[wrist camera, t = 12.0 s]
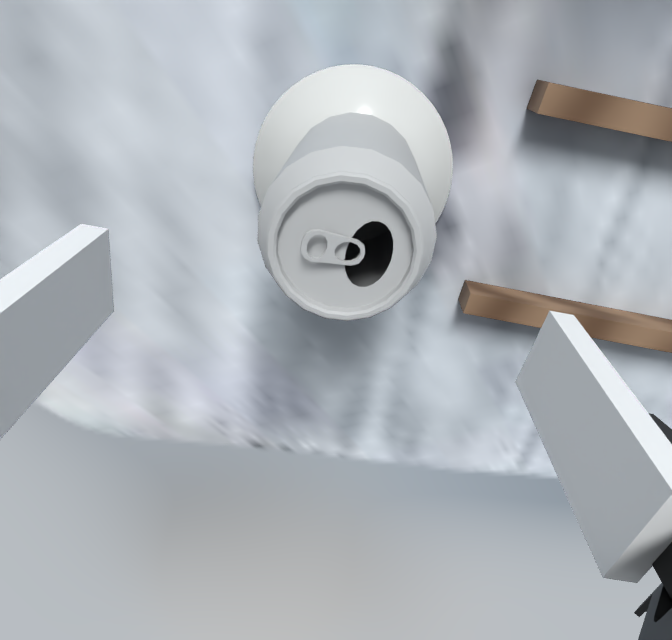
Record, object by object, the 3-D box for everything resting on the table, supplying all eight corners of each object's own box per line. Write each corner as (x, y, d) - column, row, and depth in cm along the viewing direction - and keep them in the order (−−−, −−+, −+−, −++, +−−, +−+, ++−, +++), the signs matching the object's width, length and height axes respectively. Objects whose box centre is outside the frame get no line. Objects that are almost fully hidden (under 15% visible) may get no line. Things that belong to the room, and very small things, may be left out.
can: (392, 249, 31) (404, 355, 21) (280, 218, 30) (234, 311, 20) (434, 131, 27) (473, 188, 17) (306, 93, 27) (267, 128, 16)
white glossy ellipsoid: (247, 244, 32) (244, 249, 32) (266, 43, 26) (263, 43, 26) (420, 278, 33) (421, 283, 32) (478, 88, 27) (481, 89, 26)
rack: (458, 298, 34) (463, 313, 32) (537, 79, 26) (548, 82, 25) (692, 343, 34) (709, 359, 33) (829, 142, 27) (860, 149, 25)
